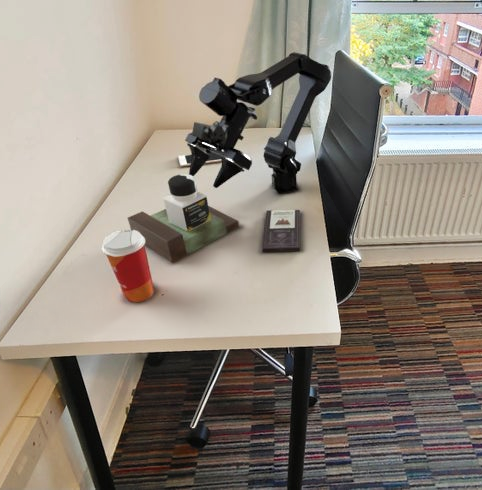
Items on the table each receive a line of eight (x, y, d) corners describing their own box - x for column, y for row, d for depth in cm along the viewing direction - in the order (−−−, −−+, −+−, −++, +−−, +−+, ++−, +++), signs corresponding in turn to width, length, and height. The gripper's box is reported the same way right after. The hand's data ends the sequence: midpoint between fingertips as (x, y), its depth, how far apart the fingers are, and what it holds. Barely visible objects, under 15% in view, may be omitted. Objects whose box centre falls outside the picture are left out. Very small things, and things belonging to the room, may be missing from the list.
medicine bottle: (188, 232, 105) (178, 188, 98) (168, 223, 108) (158, 179, 101) (211, 220, 110) (203, 176, 103) (192, 211, 113) (183, 168, 106)
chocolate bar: (262, 248, 106) (266, 210, 120) (262, 252, 106) (266, 213, 121) (299, 247, 106) (299, 209, 121) (300, 250, 107) (299, 212, 122)
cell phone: (178, 157, 148) (178, 155, 148) (226, 151, 154) (226, 149, 154) (180, 167, 143) (180, 165, 142) (231, 160, 148) (230, 158, 148)
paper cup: (127, 282, 96) (108, 228, 88) (163, 281, 96) (148, 227, 88) (114, 307, 89) (93, 251, 81) (153, 305, 90) (136, 250, 82)
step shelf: (200, 207, 123) (196, 188, 119) (239, 227, 115) (236, 207, 112) (133, 238, 109) (127, 217, 106) (172, 263, 102) (167, 241, 98)
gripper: (184, 99, 106) (153, 156, 105) (236, 117, 97) (203, 180, 96) (215, 123, 116) (187, 175, 115) (265, 141, 107) (236, 198, 106)
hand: (202, 181), depth 107 cm, fingers open, 9 cm apart
